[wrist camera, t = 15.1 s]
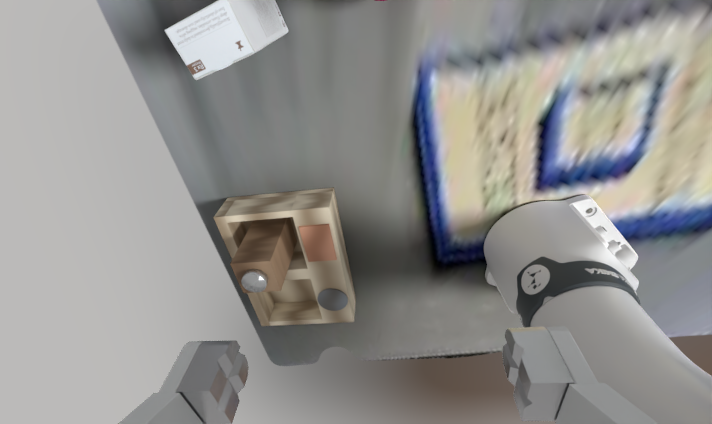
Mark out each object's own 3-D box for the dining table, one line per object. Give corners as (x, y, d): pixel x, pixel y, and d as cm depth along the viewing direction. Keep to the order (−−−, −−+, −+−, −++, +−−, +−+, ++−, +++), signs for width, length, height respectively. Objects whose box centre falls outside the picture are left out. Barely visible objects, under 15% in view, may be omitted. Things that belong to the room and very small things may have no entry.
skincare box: (270, -13, 34) (225, -12, 24) (291, 34, 36) (258, 52, 26) (220, 14, 36) (158, 24, 26) (243, 57, 38) (194, 82, 28)
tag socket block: (333, 187, 47) (329, 208, 42) (355, 298, 58) (353, 323, 54) (227, 197, 48) (212, 218, 44) (269, 302, 60) (261, 327, 56)
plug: (288, 213, 48) (267, 266, 39) (296, 241, 51) (279, 296, 42) (255, 216, 49) (226, 269, 40) (265, 243, 52) (240, 299, 42)
